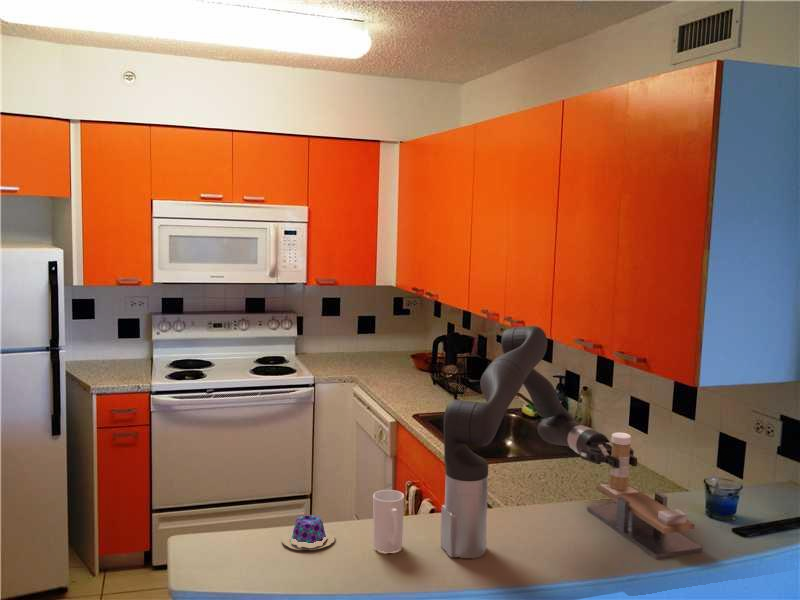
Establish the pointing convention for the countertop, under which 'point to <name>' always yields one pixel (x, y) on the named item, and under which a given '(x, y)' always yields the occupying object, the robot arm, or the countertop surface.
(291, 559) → the countertop surface
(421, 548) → the countertop surface
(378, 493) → the mug
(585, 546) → the countertop surface
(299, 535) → the pudding
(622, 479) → the sprinkles bottle
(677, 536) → the stand
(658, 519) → the balance beam
